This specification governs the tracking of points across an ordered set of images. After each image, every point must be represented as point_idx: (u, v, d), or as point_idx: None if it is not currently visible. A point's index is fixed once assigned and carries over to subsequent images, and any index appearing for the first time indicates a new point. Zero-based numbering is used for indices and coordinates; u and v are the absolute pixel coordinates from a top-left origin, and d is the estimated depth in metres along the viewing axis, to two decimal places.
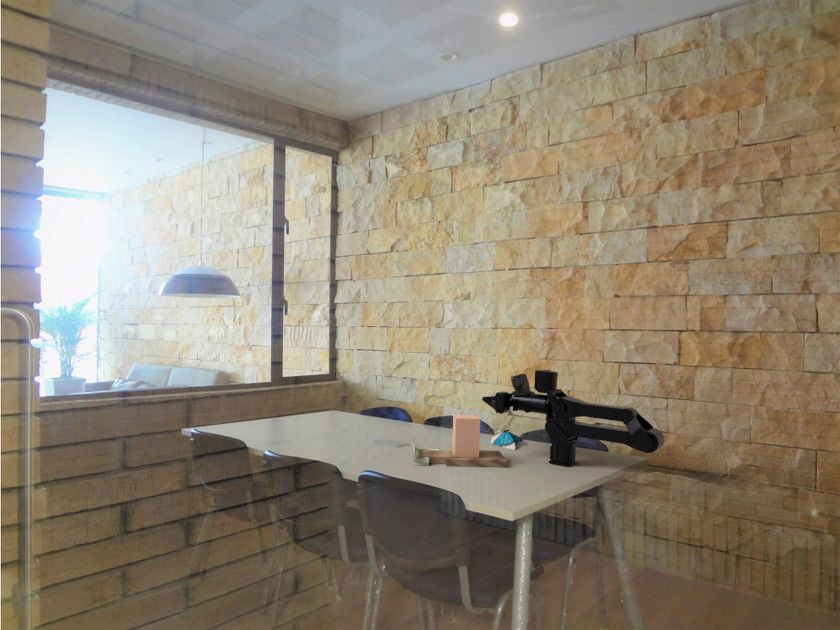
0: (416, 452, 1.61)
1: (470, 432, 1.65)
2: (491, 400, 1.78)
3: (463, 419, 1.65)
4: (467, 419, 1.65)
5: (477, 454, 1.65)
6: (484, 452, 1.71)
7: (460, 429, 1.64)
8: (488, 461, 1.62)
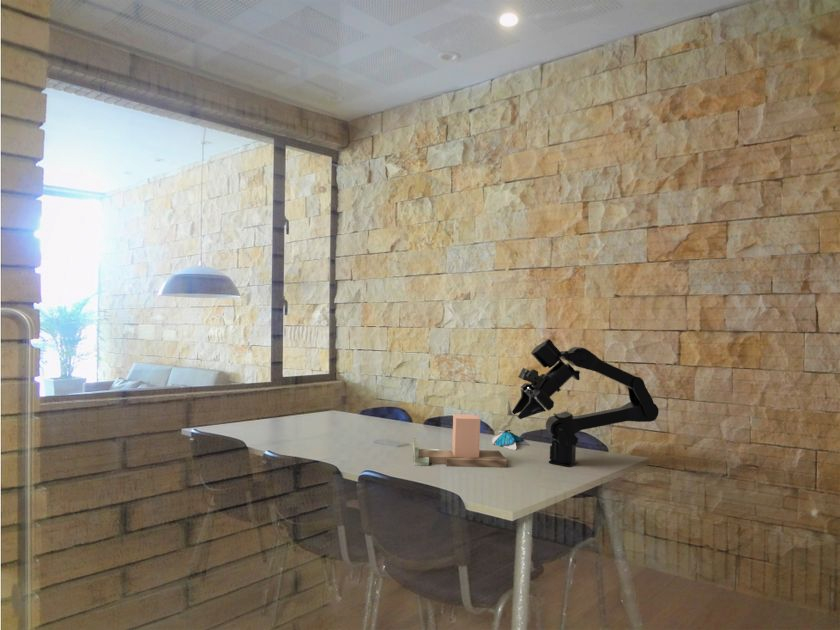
0: (416, 452, 1.61)
1: (470, 432, 1.65)
2: (529, 409, 1.64)
3: (463, 419, 1.65)
4: (467, 419, 1.65)
5: (477, 454, 1.65)
6: (484, 452, 1.71)
7: (460, 429, 1.64)
8: (488, 461, 1.62)
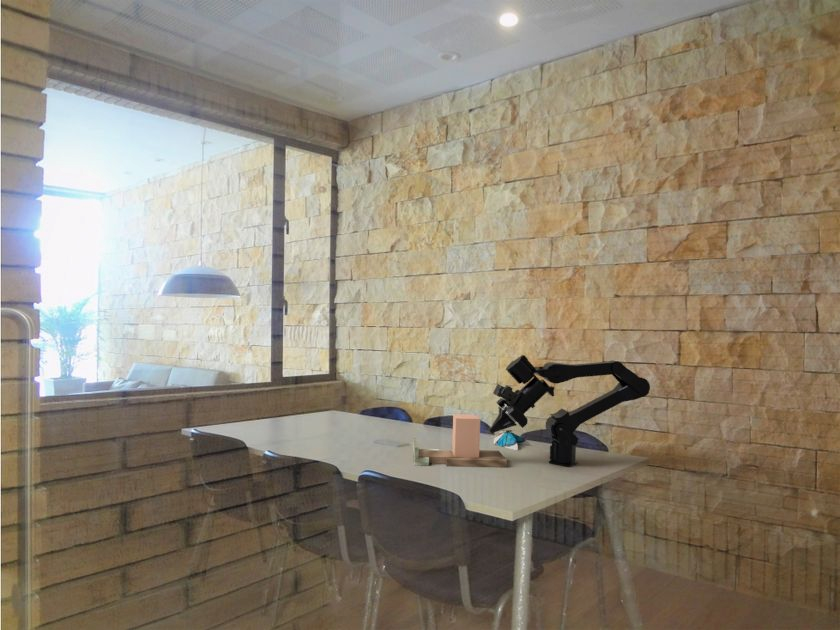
0: (416, 452, 1.61)
1: (470, 432, 1.65)
2: (501, 423, 1.67)
3: (463, 419, 1.65)
4: (467, 419, 1.65)
5: (477, 454, 1.65)
6: (484, 452, 1.71)
7: (460, 429, 1.64)
8: (488, 461, 1.62)
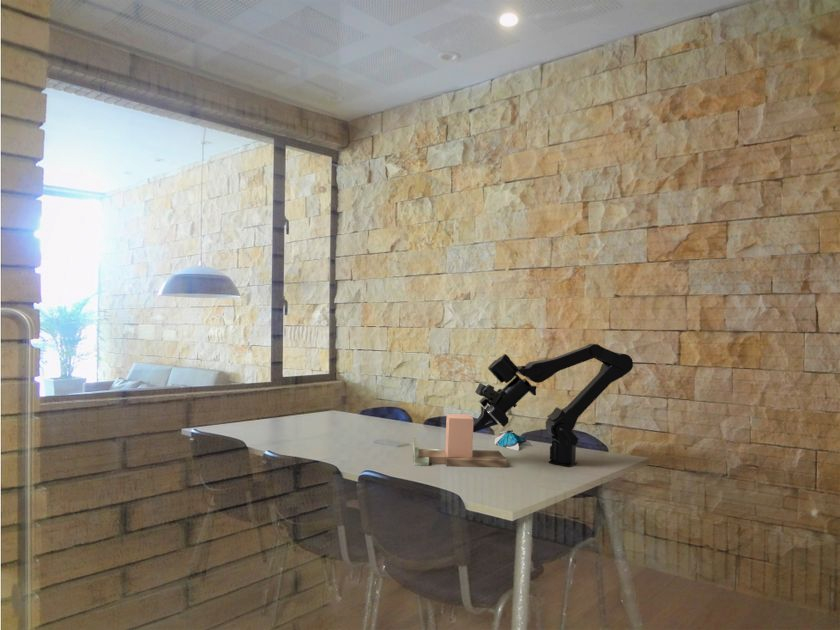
0: (416, 452, 1.61)
1: (464, 432, 1.65)
2: (482, 422, 1.67)
3: (456, 419, 1.64)
4: (460, 419, 1.65)
5: (470, 454, 1.65)
6: (484, 452, 1.71)
7: (453, 428, 1.64)
8: (488, 461, 1.62)
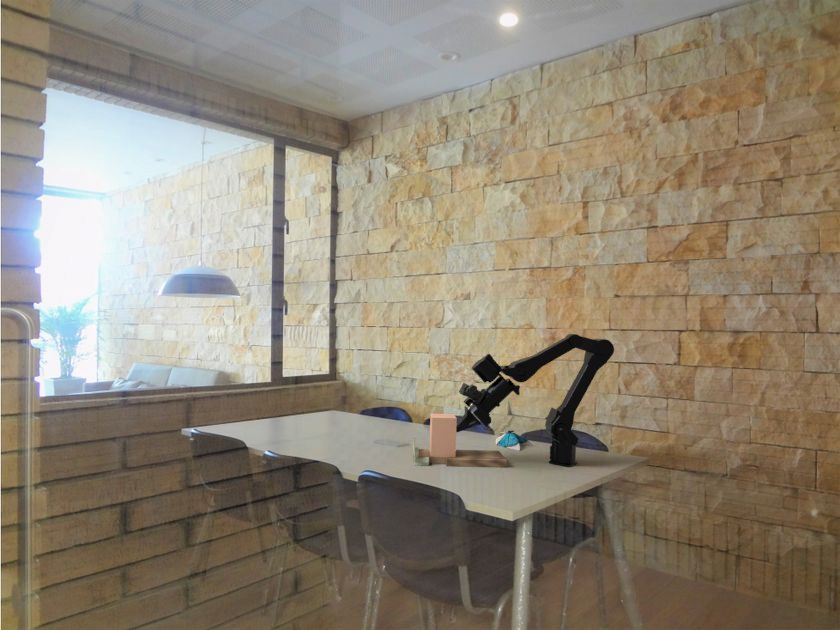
0: (416, 452, 1.61)
1: (447, 431, 1.64)
2: (466, 422, 1.67)
3: (439, 418, 1.64)
4: (443, 418, 1.64)
5: (453, 453, 1.64)
6: (484, 452, 1.71)
7: (436, 428, 1.64)
8: (488, 461, 1.62)
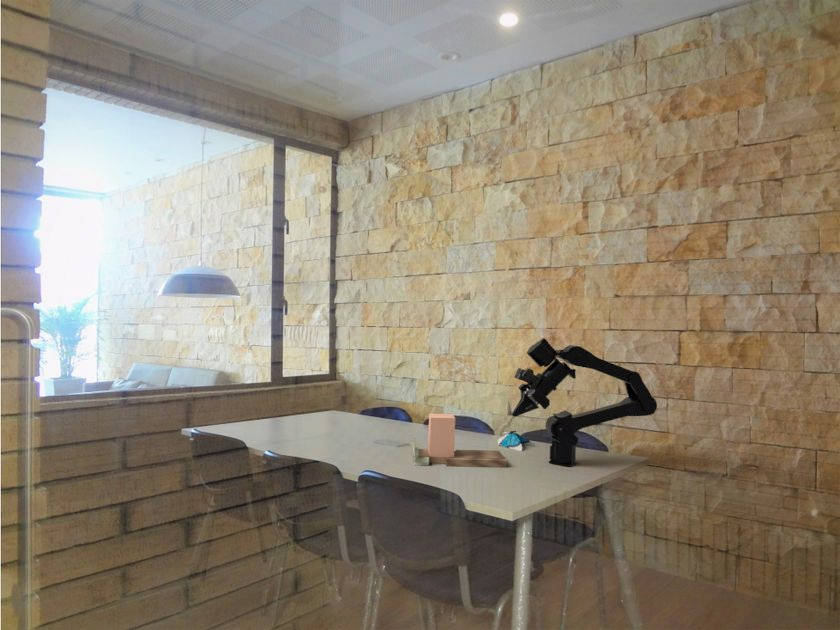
0: (416, 452, 1.61)
1: (445, 431, 1.64)
2: (523, 407, 1.68)
3: (438, 418, 1.64)
4: (442, 418, 1.64)
5: (452, 453, 1.64)
6: (484, 452, 1.71)
7: (434, 428, 1.64)
8: (488, 461, 1.62)
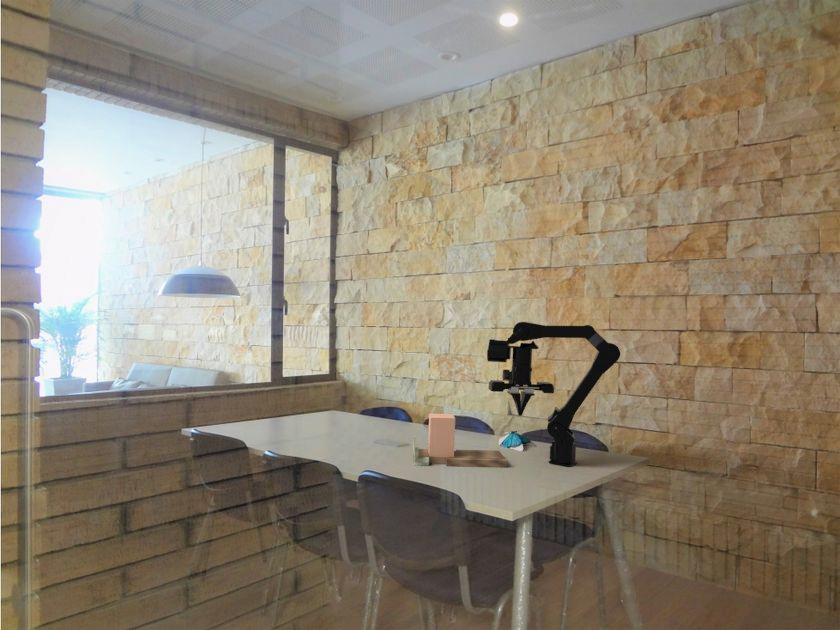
0: (416, 452, 1.61)
1: (445, 431, 1.64)
2: (515, 402, 1.73)
3: (438, 418, 1.64)
4: (442, 418, 1.64)
5: (452, 453, 1.64)
6: (484, 452, 1.71)
7: (434, 428, 1.64)
8: (488, 461, 1.62)
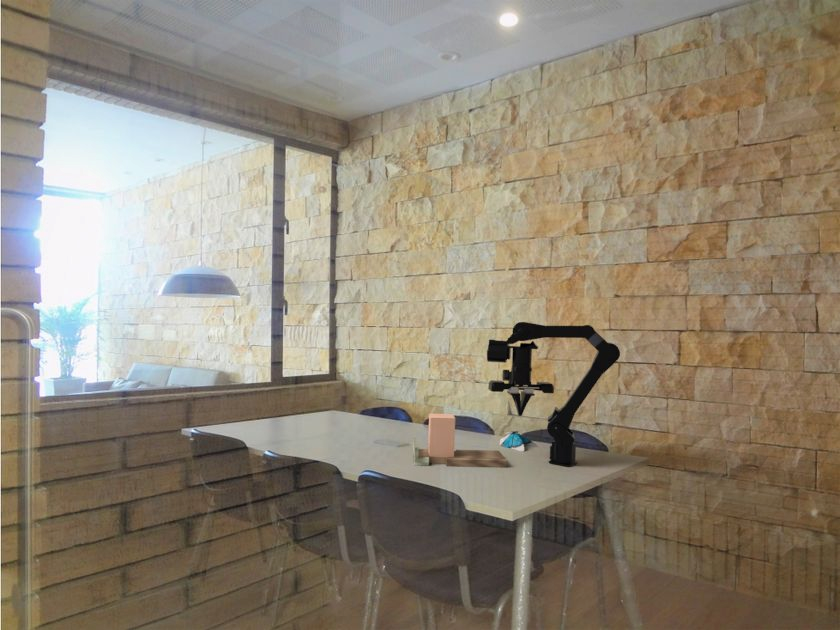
0: (416, 452, 1.61)
1: (445, 431, 1.64)
2: (515, 402, 1.73)
3: (438, 418, 1.64)
4: (442, 418, 1.64)
5: (452, 453, 1.64)
6: (484, 452, 1.71)
7: (434, 428, 1.64)
8: (488, 461, 1.62)
